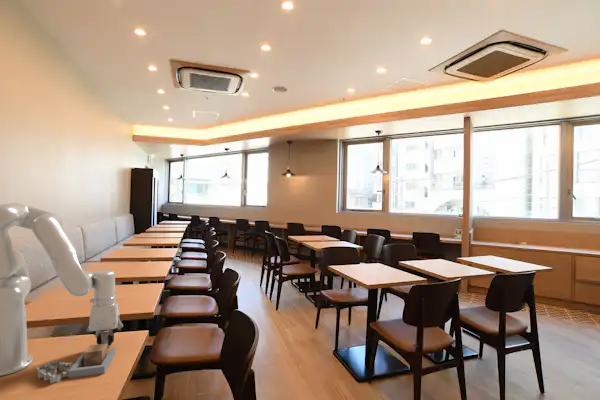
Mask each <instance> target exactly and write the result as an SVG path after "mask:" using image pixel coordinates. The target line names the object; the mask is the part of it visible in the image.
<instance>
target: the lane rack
mask: <svg viewBox="0 0 600 400" xmlns="http://www.w3.org/2000/svg"><path fill="white" fill-rule="evenodd" d="M85 351H86V350H85ZM85 351H83V352H82V353H81V354H80V356H79V357H78V358H77V360H76V361H75V362H74V363H73V364H74V365H73V366H72V367H71V369H70V370H69V377H68V379H73V378H80V377H88V376H95V375H103V374H105V373H106V371H107V370H108V368H109V366H110V365H111V363H112V361H113V359H114V357H115V355H116V347H112V348H111V347H110V349H109V351H108V352H107V356H106V358H105V359H104V361H103V362H102V364H97V365H89V366H84V352H85ZM82 366H83V367H82Z"/></svg>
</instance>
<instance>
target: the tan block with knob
mask: <svg viewBox="0 0 600 400" xmlns="http://www.w3.org/2000/svg"><path fill="white" fill-rule="evenodd" d="M109 334H110V333H109V330H102V331H101V344H91V345H89V346H88V347H87V348H86V349H85V352H84V351H83V352H84V364H83V367H88V366H96V365H101V364H102V362H103V361H104V359H105V358H106V356H107V354H108V348H109V347H110V346H111V345H110V346H109V345H108V336H109ZM110 348H111V347H110Z"/></svg>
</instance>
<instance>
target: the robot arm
mask: <svg viewBox="0 0 600 400" xmlns="http://www.w3.org/2000/svg"><path fill="white" fill-rule="evenodd" d="M15 226H17V227H20V228H24V229H28V230H30V231H32V233H33V234H34V236H35V237H36V239H37V240H38V242H39V243H40V245H41V247H42V248H43V250H44V251H45V253H46V254H47V256H48V257H49V259H50V261H51V264H52V266H53V268H54V270H55V272H56V274H57V276H58V278H59V280H60V282H61V283H62V285H63V286H64V287H65V289H66V291H67V292H68V293H69V294H70V295H72V296H74V297H78V298H79V297H83V296H84V297H85V296H86V295H88V294H89V293H90V291H92V289H93V298H91V299H89V302H90V304H91V303H93V305H91V308H90V311H89V312H90V314H89V325H88V327H87V328H86V332H88V333H91V334H92V335H93V336H95V338H96V345H98V344H101V332H102V331H109V333H110V334H109V336H108V345H109V346H112V344H113V343H114V342H115V334H116V333H117V331H119V330H121V329H122V328H123V327H124V324H123V322H122V321H121V320H120V317H121V316H120V310H119V305H118V302H117V301H116V274H115V271H114V270H110V269H106V270H104V269H103V270H99V271H88V270H87V271H85V270H83V268H82V267H81V264H80V263H79V259H78V255H77V250H76V247H75V244H73V241H72V240H71V238H70V237H69V235H68V234H67V232H66V230H65V229H64V228H63V220H62V218H61V217H60V216H59V215H58V214H56V213H53V212H49V211H46V210H42V209H39V208H37V207H33V206H30V205H26V204H23V203H19V202H18V203H16V202H13V203H12V202H10V203H5V204H0V377H1V376H7V375H9V374H10V375H11V374H13V373H17V372H19V371H21V370H23V369H26V368H27V367H29V366H30V365H31V364H32V363H33V360H34V357H33V356H32V355H30V354H28V336H27V335H28V333H27V332H28V331H27V329H28V328H27V327H28V326H27V311H26V306H25V305H26V304H25V298H26V297H27V296H28V294H29V293H30V291H31V289H32V281H31V278H30V273H29V268H28V265H27V261H26V258H25V256H24V255H23V253H21V251H19V250H17V249H14V248H13V244H12V238H11V236H10V234H9V230H10V228H12V227H15Z"/></svg>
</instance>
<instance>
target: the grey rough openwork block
mask: <svg viewBox="0 0 600 400" xmlns="http://www.w3.org/2000/svg"><path fill="white" fill-rule="evenodd" d="M73 365H74V363H73V362H71V361H69V362H65V361H59V360H55V361H53V362H52V361H50V362H49V363H45V364H42V365H41V366H40V365H39V366H36V370H37V378H38V379H43V381H44V382H46V381H49V383H50V384H53V383H59V382H61V380H62V379H63V378H69V370H70V369H71V367H72V366H73ZM57 369H58V371H61V373H60V374H59V373H58V372H57ZM57 373H58V374H57Z"/></svg>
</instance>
